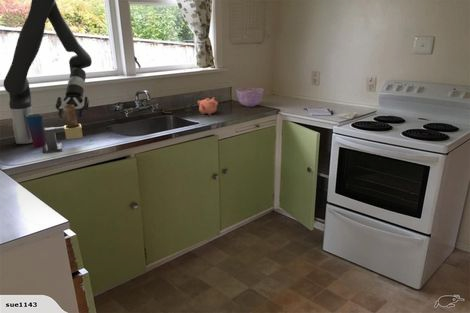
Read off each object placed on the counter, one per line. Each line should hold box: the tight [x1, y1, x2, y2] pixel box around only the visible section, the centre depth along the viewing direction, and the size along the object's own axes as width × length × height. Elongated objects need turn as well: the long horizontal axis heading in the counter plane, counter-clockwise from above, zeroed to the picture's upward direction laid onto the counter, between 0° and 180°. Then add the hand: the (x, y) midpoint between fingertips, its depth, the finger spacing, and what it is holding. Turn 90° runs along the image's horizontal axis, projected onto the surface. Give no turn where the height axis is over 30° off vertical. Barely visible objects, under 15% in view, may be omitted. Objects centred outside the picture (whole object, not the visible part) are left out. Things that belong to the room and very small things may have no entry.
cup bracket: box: [42, 123, 84, 154], centre depth 177 cm, size 18×10×10 cm, turn 113°
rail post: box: [65, 104, 78, 128], centre depth 177 cm, size 4×4×14 cm
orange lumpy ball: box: [197, 96, 219, 116], centre depth 247 cm, size 14×12×10 cm
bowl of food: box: [235, 87, 265, 108], centre depth 271 cm, size 20×20×12 cm
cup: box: [26, 113, 46, 148], centre depth 180 cm, size 7×7×15 cm
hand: (70, 117), depth 175 cm, fingers open, 8 cm apart
